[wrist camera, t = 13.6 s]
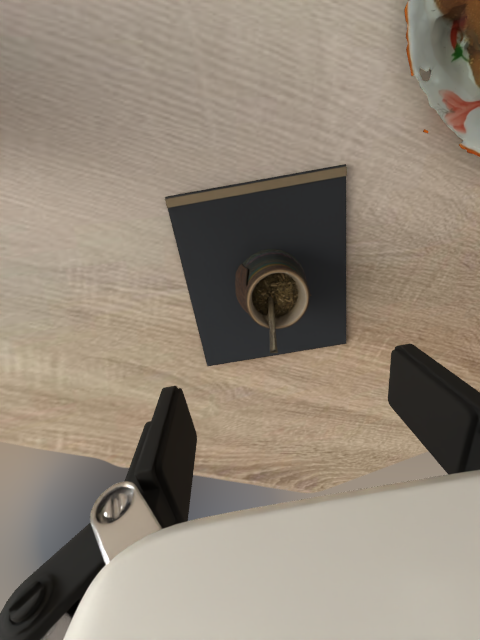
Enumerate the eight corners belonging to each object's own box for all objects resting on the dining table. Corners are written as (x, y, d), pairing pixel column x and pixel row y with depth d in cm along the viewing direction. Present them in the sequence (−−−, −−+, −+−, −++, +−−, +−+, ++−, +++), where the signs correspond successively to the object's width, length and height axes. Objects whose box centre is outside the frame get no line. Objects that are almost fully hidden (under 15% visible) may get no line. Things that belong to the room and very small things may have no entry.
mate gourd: (299, 242, 28) (334, 258, 19) (297, 308, 31) (326, 350, 22) (232, 246, 28) (234, 264, 18) (236, 312, 31) (240, 356, 21)
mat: (166, 197, 26) (164, 196, 25) (343, 165, 26) (346, 164, 25) (207, 363, 34) (207, 366, 33) (344, 341, 33) (346, 344, 33)
